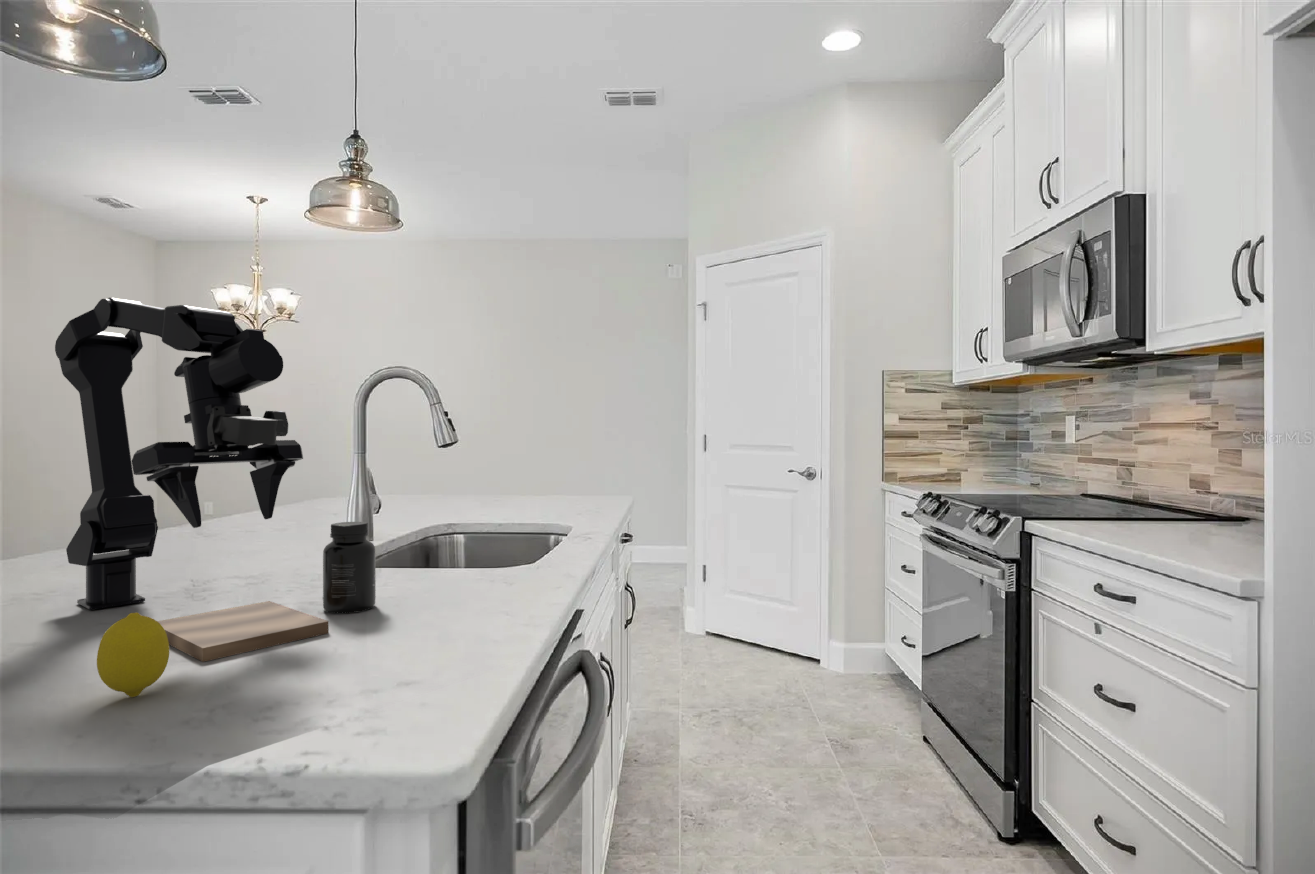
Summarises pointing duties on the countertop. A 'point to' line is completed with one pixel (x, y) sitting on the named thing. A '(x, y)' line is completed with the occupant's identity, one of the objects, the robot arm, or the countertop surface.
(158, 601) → the countertop surface
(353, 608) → the supplement bottle
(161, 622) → the walnut board
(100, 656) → the lemon
